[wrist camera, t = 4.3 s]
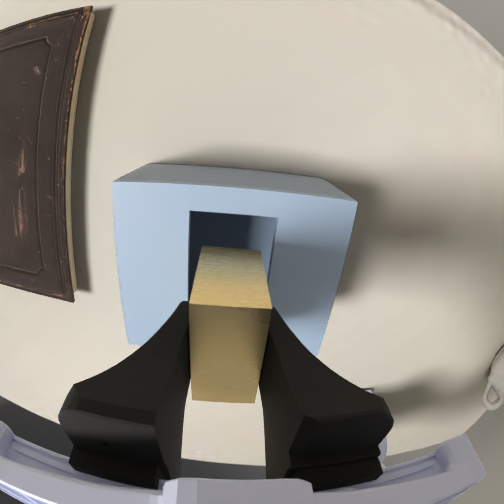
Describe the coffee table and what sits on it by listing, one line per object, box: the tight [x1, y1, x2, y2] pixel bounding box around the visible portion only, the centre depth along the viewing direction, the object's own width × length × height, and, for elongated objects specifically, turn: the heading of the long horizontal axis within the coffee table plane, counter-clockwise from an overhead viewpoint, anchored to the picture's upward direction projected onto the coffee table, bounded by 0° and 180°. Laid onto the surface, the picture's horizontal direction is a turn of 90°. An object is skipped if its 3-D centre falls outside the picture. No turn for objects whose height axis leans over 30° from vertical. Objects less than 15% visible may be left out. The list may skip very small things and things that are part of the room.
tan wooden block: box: [189, 246, 272, 403], centre depth 12 cm, size 3×5×4 cm, turn 174°
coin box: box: [113, 164, 358, 356], centre depth 18 cm, size 12×10×6 cm
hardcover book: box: [0, 6, 95, 303], centre depth 16 cm, size 16×23×2 cm
